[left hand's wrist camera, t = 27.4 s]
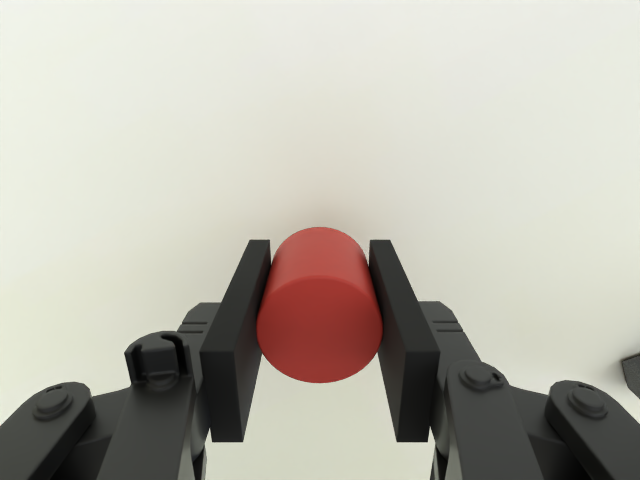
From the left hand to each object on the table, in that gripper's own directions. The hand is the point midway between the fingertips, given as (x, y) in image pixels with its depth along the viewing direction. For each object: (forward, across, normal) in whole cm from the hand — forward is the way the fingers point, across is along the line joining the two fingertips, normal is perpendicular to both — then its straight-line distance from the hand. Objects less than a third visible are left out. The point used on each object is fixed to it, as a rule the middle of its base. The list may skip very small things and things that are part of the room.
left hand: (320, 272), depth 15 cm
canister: (0, 0, 0) cm, 0 cm away
